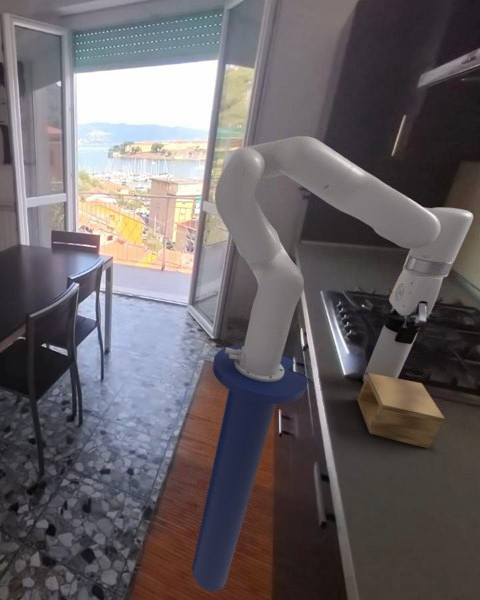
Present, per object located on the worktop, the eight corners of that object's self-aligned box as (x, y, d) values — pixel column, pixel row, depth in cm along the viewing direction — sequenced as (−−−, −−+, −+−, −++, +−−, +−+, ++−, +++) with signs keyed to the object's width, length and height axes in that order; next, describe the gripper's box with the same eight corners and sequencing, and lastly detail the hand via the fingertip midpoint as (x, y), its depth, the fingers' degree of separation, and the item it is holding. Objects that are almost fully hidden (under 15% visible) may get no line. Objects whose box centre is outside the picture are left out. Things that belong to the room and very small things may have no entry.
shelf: (369, 433, 77) (382, 404, 74) (357, 399, 87) (367, 372, 84) (428, 448, 74) (445, 418, 70) (408, 411, 84) (421, 383, 80)
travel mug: (358, 384, 93) (385, 316, 84) (365, 373, 97) (391, 308, 88) (388, 396, 88) (420, 326, 80) (394, 384, 92) (425, 316, 84)
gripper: (393, 252, 87) (369, 317, 95) (420, 276, 73) (389, 349, 80) (432, 256, 84) (404, 322, 92) (468, 281, 70) (431, 357, 78)
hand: (397, 334), depth 86 cm, fingers closed on travel mug, 6 cm apart
